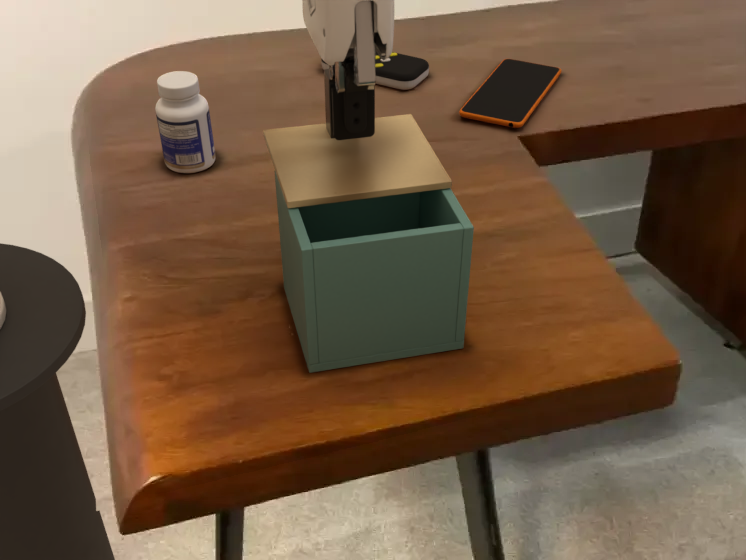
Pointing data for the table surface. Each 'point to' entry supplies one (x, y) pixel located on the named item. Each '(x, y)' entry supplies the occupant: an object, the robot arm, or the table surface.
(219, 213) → the table surface
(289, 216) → the box
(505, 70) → the smartphone
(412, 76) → the remote control
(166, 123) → the pill bottle
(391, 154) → the slide lid
